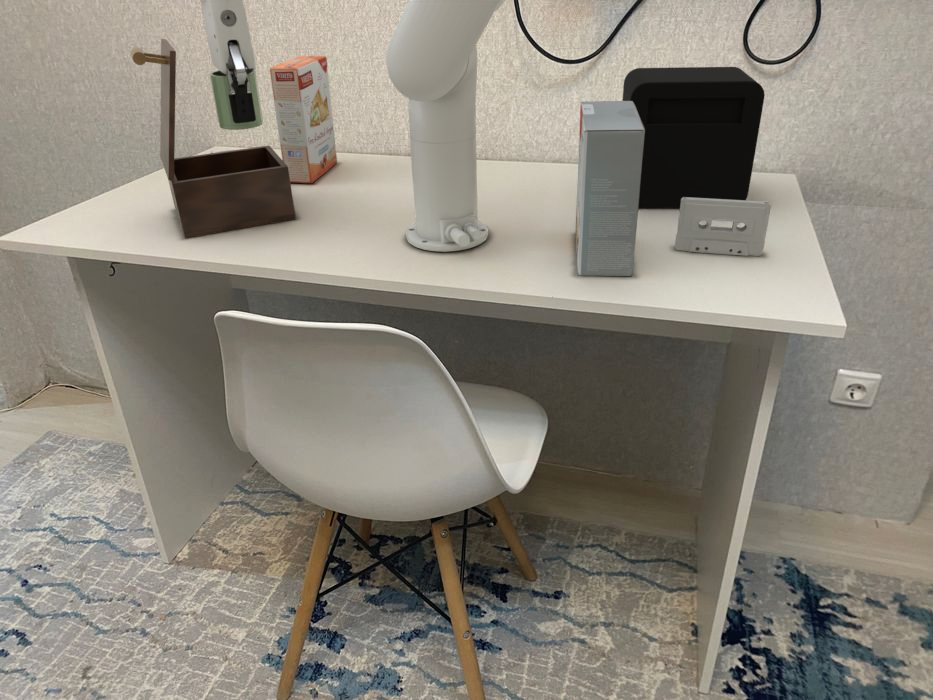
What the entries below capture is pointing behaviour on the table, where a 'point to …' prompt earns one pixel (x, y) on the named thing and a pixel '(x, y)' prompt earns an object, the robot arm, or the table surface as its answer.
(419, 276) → the table surface
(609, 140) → the hard drive box
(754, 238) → the cassette
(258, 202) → the chest
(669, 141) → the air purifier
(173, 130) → the chest lid
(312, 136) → the cracker box
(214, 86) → the cup
